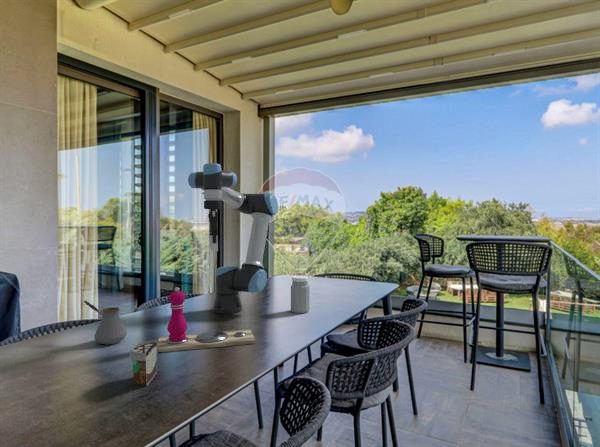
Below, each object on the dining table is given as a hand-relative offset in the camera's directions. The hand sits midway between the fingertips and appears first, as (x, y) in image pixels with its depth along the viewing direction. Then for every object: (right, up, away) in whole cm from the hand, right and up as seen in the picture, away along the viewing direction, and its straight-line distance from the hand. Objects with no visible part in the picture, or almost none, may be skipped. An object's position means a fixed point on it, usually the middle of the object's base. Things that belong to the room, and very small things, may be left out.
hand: (213, 249), depth 160 cm
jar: (+37, -35, +32) cm, 60 cm away
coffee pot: (-42, -36, -12) cm, 56 cm away
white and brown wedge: (-11, -36, -48) cm, 61 cm away
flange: (-10, -34, -18) cm, 39 cm away
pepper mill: (-10, -33, -18) cm, 39 cm away
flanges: (+6, -34, -13) cm, 37 cm away
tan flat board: (+1, -35, -15) cm, 38 cm away
